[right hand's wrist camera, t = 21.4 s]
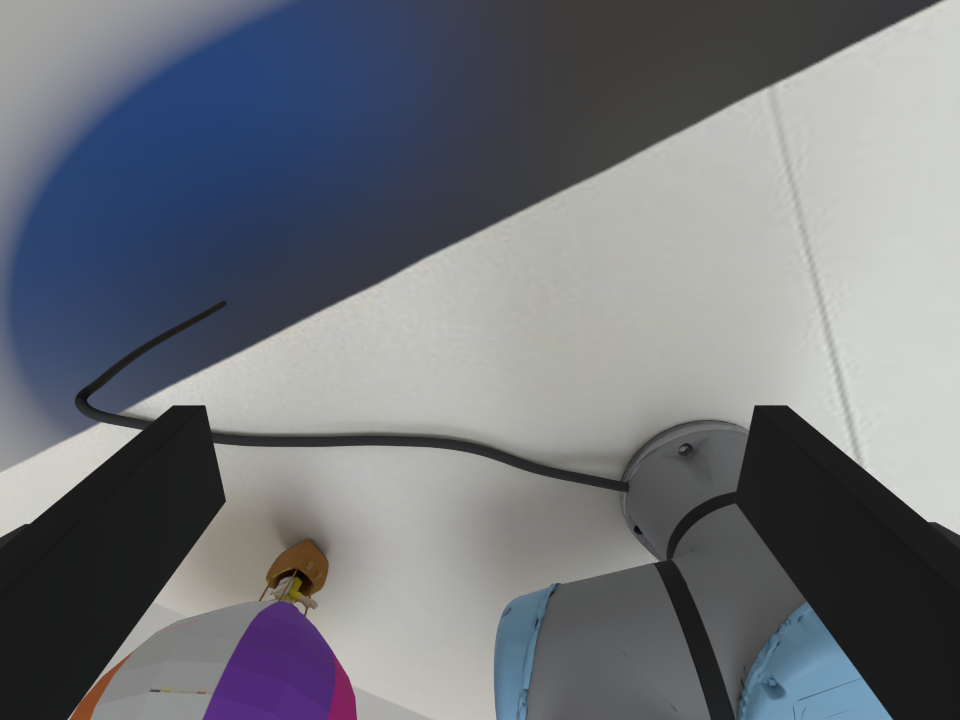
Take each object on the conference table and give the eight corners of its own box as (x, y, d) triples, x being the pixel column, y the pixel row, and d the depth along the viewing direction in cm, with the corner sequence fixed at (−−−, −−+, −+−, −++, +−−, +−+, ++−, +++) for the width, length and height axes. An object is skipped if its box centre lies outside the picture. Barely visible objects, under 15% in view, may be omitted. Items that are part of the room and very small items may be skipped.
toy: (325, 444, 50) (131, 803, 22) (434, 581, 57) (388, 996, 29) (172, 528, 54) (-159, 926, 26) (289, 647, 60) (124, 1075, 32)
